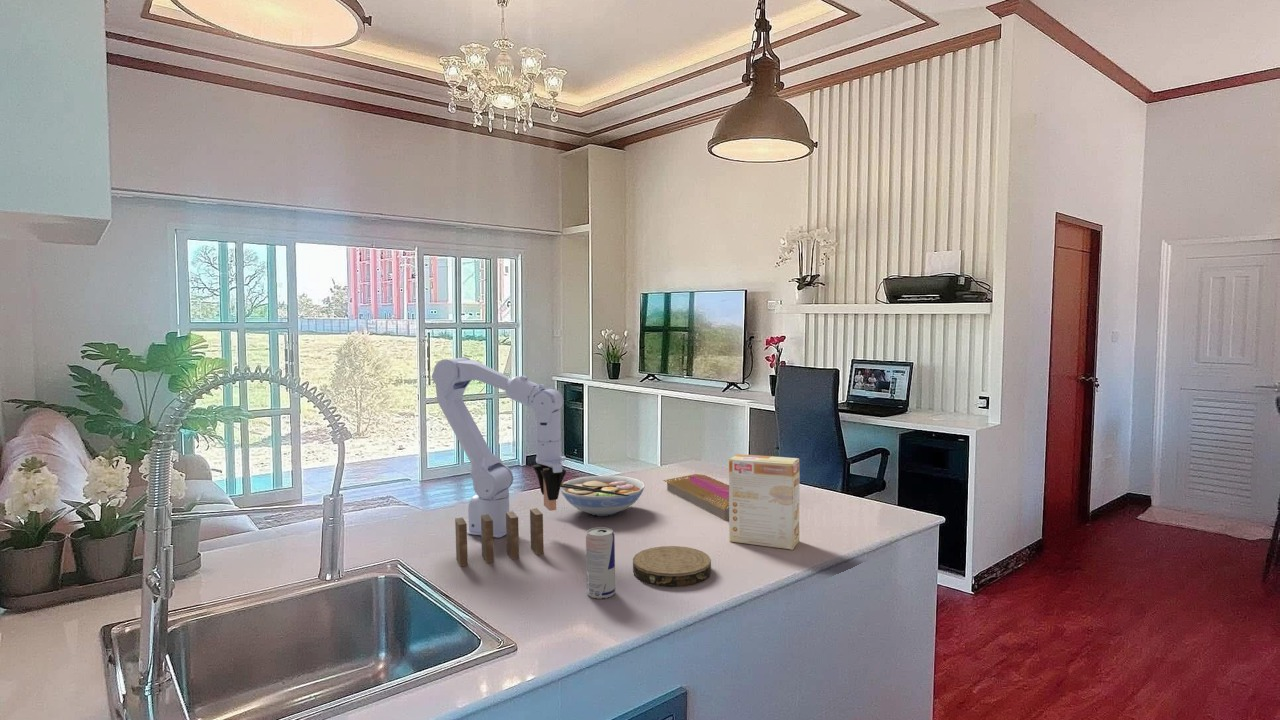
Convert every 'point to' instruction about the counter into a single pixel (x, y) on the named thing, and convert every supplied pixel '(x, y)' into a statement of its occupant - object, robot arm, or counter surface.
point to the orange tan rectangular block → (547, 503)
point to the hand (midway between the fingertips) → (549, 496)
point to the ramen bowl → (602, 493)
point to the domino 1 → (461, 542)
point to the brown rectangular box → (702, 493)
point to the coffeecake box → (764, 500)
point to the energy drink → (600, 562)
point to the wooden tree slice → (672, 566)
